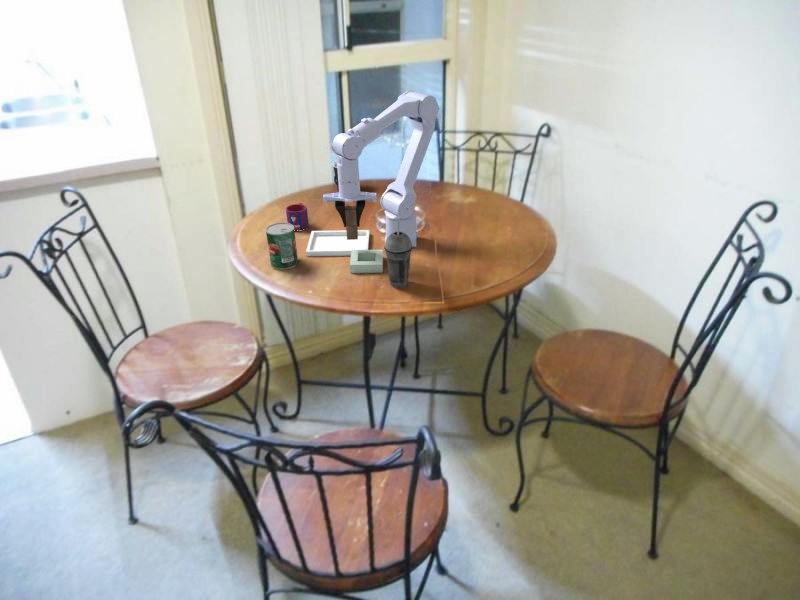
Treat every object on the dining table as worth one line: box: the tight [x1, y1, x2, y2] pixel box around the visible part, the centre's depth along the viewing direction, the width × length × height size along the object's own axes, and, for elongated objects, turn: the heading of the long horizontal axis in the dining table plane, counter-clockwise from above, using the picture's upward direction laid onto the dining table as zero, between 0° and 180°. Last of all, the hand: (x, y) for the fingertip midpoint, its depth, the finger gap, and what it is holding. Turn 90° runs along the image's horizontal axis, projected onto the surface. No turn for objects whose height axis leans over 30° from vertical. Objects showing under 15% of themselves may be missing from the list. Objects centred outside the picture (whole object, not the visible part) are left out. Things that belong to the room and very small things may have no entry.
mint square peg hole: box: [349, 249, 384, 274], centre depth 161 cm, size 9×9×3 cm
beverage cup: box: [384, 218, 413, 289], centre depth 147 cm, size 7×7×20 cm
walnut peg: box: [345, 205, 359, 240], centre depth 160 cm, size 3×3×9 cm
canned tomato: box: [265, 222, 299, 270], centre depth 161 cm, size 8×8×11 cm
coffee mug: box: [332, 161, 339, 193], centre depth 208 cm, size 12×9×10 cm
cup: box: [285, 202, 310, 232], centre depth 184 cm, size 7×10×7 cm
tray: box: [305, 229, 370, 257], centre depth 172 cm, size 18×14×2 cm
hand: (351, 225), depth 160 cm, fingers closed on walnut peg, 3 cm apart
